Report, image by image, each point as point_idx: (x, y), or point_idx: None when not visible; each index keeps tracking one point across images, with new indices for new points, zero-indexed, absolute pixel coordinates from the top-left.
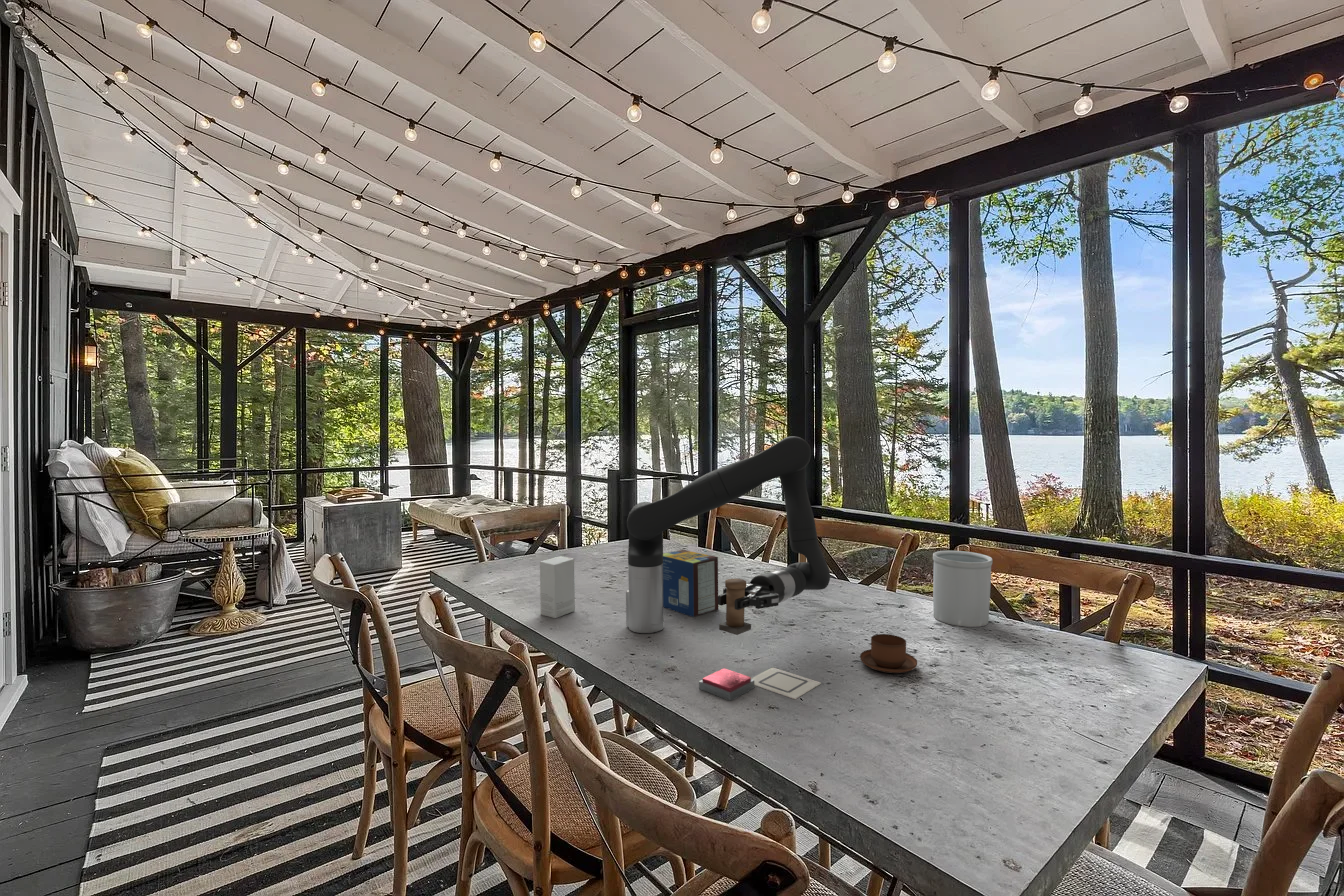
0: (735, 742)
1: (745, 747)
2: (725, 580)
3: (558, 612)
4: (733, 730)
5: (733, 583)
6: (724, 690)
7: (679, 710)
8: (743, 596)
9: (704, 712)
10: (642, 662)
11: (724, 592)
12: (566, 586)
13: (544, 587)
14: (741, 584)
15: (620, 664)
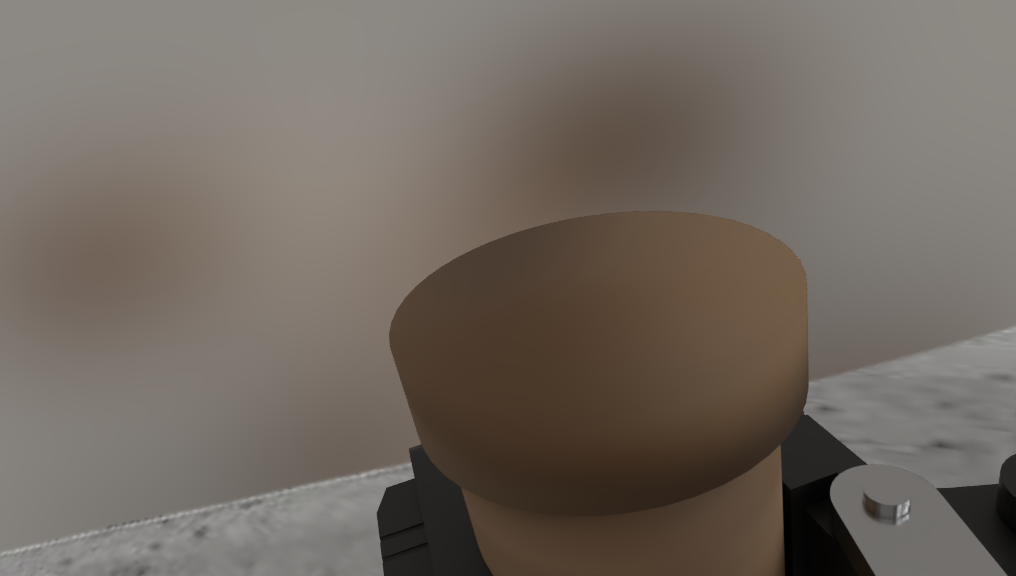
0: (121, 539)
1: (78, 551)
2: (690, 213)
3: None
4: (163, 564)
5: (482, 254)
6: None
7: (402, 476)
8: (484, 556)
9: (328, 534)
10: (931, 481)
11: (986, 491)
12: None
13: None
14: (400, 327)
15: (912, 410)
